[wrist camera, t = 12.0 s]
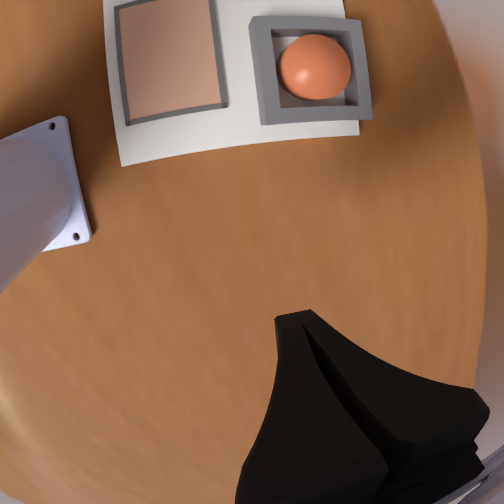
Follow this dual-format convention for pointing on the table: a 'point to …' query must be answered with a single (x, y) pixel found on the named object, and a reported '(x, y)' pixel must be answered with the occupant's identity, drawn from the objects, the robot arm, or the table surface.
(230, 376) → the table surface
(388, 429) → the robot arm
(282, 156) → the table surface
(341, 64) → the button
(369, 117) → the picture board
